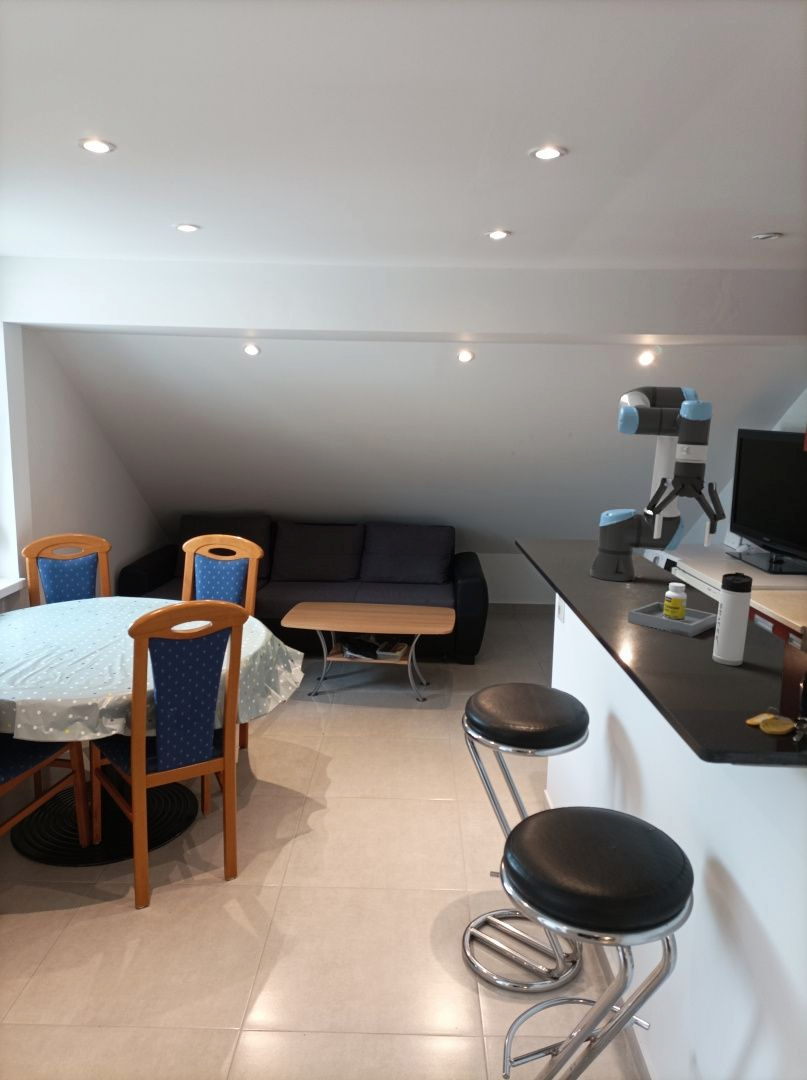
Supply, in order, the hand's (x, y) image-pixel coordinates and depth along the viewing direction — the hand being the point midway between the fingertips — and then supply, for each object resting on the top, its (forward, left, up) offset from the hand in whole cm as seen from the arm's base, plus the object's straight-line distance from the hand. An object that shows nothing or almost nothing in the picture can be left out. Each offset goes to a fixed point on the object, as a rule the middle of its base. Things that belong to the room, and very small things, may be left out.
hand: (681, 542), depth 197 cm
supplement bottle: (+1, +1, -21) cm, 21 cm away
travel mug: (+23, +23, -22) cm, 39 cm away
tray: (+2, +1, -22) cm, 22 cm away
